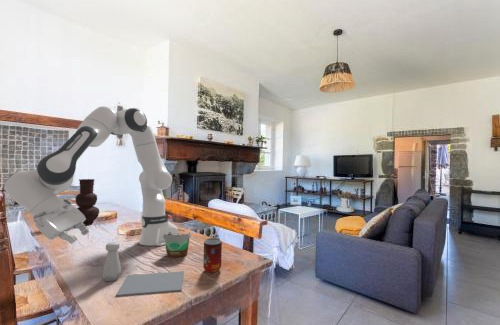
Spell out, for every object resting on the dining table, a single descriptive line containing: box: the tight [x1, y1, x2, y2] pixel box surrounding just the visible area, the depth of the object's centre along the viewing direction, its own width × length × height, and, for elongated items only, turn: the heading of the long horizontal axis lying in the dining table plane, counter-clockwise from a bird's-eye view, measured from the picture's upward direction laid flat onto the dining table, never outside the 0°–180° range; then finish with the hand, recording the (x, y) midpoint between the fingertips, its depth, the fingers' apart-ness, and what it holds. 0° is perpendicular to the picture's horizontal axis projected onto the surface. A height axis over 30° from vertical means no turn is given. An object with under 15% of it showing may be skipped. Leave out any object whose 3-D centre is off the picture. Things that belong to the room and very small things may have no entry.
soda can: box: [203, 237, 223, 275], centre depth 97 cm, size 7×7×12 cm
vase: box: [74, 178, 100, 226], centre depth 166 cm, size 15×15×30 cm
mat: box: [115, 270, 185, 297], centre depth 86 cm, size 20×14×1 cm
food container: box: [164, 232, 192, 259], centre depth 111 cm, size 12×6×10 cm, turn 105°
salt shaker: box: [102, 241, 122, 282], centre depth 89 cm, size 6×6×13 cm
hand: (81, 237), depth 87 cm, fingers open, 8 cm apart
